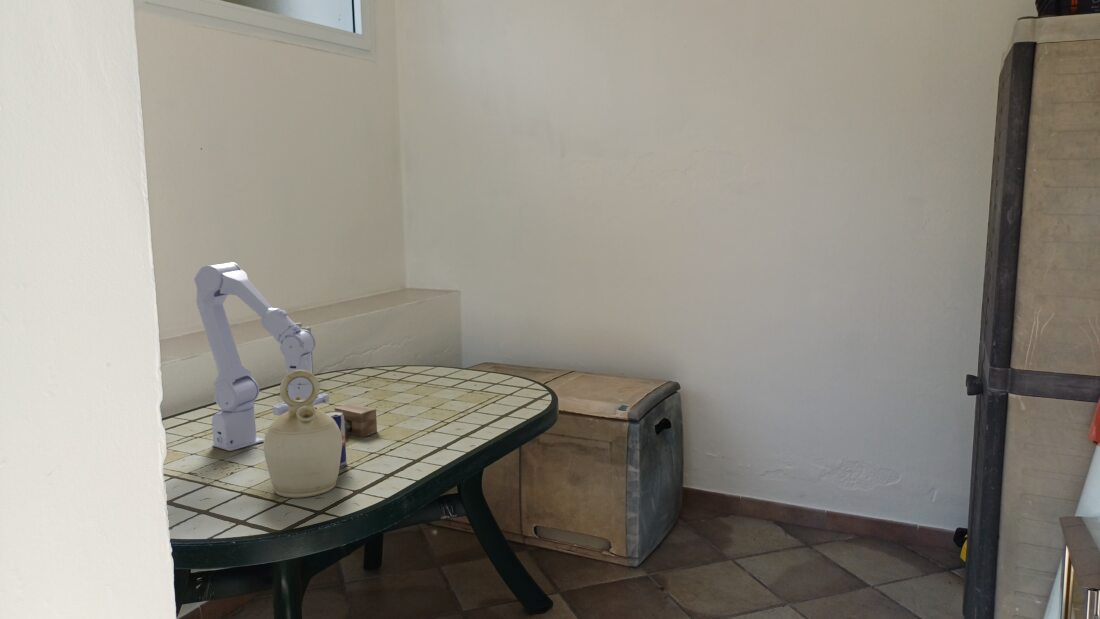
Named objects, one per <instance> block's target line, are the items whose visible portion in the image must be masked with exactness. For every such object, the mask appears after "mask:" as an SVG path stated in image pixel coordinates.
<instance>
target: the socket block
mask: <svg viewBox="0 0 1100 619" xmlns="http://www.w3.org/2000/svg"><path fill="white" fill-rule="evenodd" d="M334 411H340V412H342V413H343V416H344V421H346V422H347V421H352V430H350V431H347V435H348V434H349V435H350V436H351V435H353V436H355V437H359V438H363V437H367V436H369V435H372V434H376V433H377V432H378V423H377V409H376V408H374V407H373V408H372V407H367V406H364V405H363V406H362V405H359V404H353V403H347V404H344V405H340V406H336V407H334Z"/></svg>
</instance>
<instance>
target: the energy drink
mask: <svg viewBox="0 0 1100 619" xmlns="http://www.w3.org/2000/svg"><path fill="white" fill-rule="evenodd" d="M323 412H324V413H326V414H327V415H329V416H330V417H332V418H333V419H334V420H335V422H336V424H337V425H338V427H339V429H340V432H341V436H342V451H341V460H340V467H339V470H340V469H343V468H344V466H345V467H346V465H347V462H348V461H347V449H346V446H347V445H346V438H345V427H344V416H343V413H342V412H340V411H335V410H329V411H323Z"/></svg>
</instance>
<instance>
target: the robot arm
mask: <svg viewBox="0 0 1100 619" xmlns="http://www.w3.org/2000/svg"><path fill="white" fill-rule="evenodd" d="M194 284H195V287H196V305H197V309H198V312H199V315H200V317H201V318H200V319H201V321H202V324H203V328H204V331H205V333H206V337H207V340H208V343H209V346H210V349H211V353H212V356H213V358H214V361H215V365H216V369H217V371H218V374H217V375H216V377H215V379H214V382H213V386H214V389H215V390H214V400H215V403H216V404H217V406H218V407H219V408H220V411H219V412H217V413H214V414H213V416H212V419H211V428H212V440H213V443H212V444H211V446H213V447H216V448H219V449H222V450H224V451H225V450H226V451H229V452H231V451H235V450H238V449H242V448H245V447H249V446H253V445H256V444H258V443H260V444H261V443H262V442H263V443H264V439H265V438H260V437H258V436H257V429H256V428H257V427H256V414H255V405H256V399H257V398H258V397H259V395H260V387H259V384H258V382H257V381H256V380H255V379H254V377H253V375H252V372H251V370H249V369H248V368H246V367H244V366H243V365H242V361H241V359H240V355H239V352H238V349H237V345H236V343H235V338H234V336H233V333H232V330H231V327H230V323H229V321H228V317H227V314H226V310H225V307H224V303H225V301H226V300H227V298H228V296H229V295H231V296H232V295H233V296H237V297H238V298H239V299H240V300H241V301H242V302H243V303H244V304H246V305H247V306H248V307H249V308H250V310H252V312H253V311H254V312H255V313H256V315H258V316H259V317H260V319H261V320H260V321H261V322H260V324H261V326H262V327H263V328H264V329H265V330H266V331H267V332H268V333H269V335H271V336H272V338H273V339H274V340H275V341H277V343H278V344H279V349H280V352H281V354H282V356H283V357H284V359H285V360H284V361H285V364H286V375H288V374H289V373H291V372H293V371H295V370H306V371H308V372H310V373H312V359H313V358H312V359H311V353H310V352H312V353H313V351H314V350H315V347H316V340H315V336H314V335H313V334H312V331H311V332H309V331H307V330H302V329H301V328H300V327H299V326H297V325H296V324H295V323H296V322H294V321H293V320H292V319H291V318H290V317H289V316H288V312H287V311H286V310H285V309H283V310H282V309H281V308H279V307H273V306H272V305H271V304H270V303H269V302H268V301H267V299H266V298H265V297H264V296H263V295H262V294H261V293H260V291H259V290H258V289H257V287H255V285H254V284H252V282H251V281H250V280H249V276H248V274H247V272H246V271H244V270H243V269H242V268H241V267H240V265H238V263H236V262H233V261H227V262H225V263H220V264H219V263H218V264H213V265H209V264H207V265H204V266H202V267H201V268H200V269H199V270H198V272H197V273H196V275H195V277H194ZM311 392H312V384H311V382H310V381H309V380H308V379H306V378H303V377H299V378H296V379H294V380H292V381H291V382H290V383H289V385H288V388H287V393H288V396H289V397H290V398H291V399H293V400H294V399H295V397H296V396H300V397H301V398H302V400H303V399H305V398H307V397H309V396H310V394H311ZM327 403H330V396H329V394H328V393H321V394H320V393H319V395H318V397H317V399H316V400H315V401H314V402H313V407H314V406H317V405H320V404H327ZM314 408H315V409H317V410H318V408H317V407H314ZM289 409H290V406H289V405H287V404H286V403H285V402H284V401H283V402H282V403H280V404H277V405H274V406H272V415H273V416H278V417H279V416H280V415H282V414H284V413H286V412H288V411H289Z"/></svg>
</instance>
